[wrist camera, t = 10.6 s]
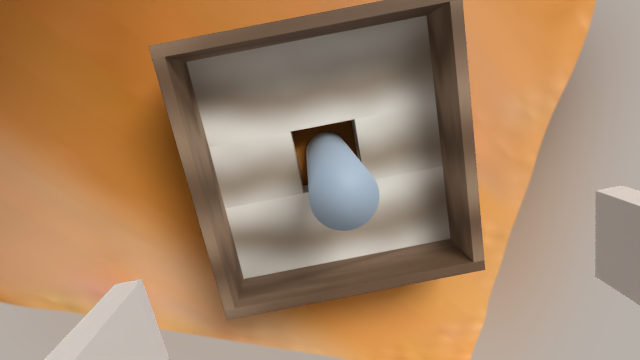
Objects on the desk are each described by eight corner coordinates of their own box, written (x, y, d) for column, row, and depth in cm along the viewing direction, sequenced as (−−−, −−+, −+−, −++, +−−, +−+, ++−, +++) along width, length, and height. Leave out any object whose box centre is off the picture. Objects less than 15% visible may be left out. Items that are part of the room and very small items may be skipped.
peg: (302, 136, 32) (302, 170, 18) (343, 128, 32) (373, 156, 18) (310, 175, 33) (316, 237, 19) (350, 167, 33) (384, 223, 19)
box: (183, 55, 30) (148, 45, 23) (424, 9, 30) (461, -15, 23) (241, 274, 35) (227, 319, 28) (449, 234, 35) (484, 269, 28)
